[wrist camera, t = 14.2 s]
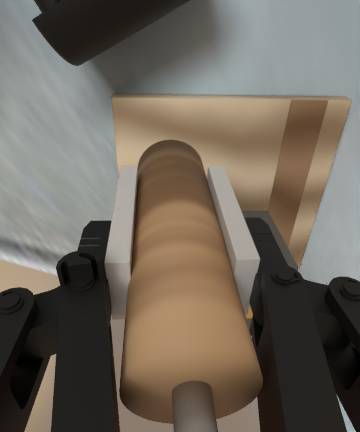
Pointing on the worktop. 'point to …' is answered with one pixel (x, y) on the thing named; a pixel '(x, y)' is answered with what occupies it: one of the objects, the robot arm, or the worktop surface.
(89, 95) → the worktop surface
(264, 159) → the birch board
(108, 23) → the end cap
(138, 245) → the wooden tool handle
